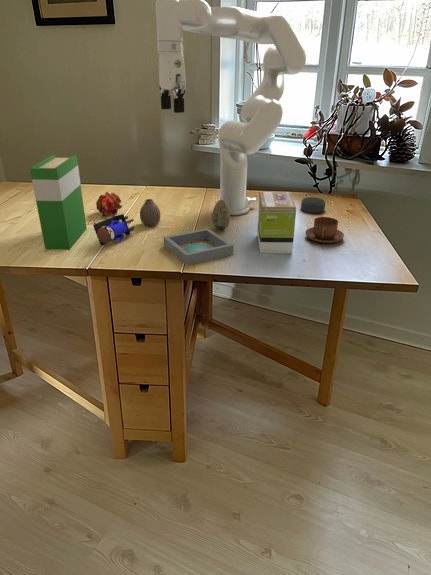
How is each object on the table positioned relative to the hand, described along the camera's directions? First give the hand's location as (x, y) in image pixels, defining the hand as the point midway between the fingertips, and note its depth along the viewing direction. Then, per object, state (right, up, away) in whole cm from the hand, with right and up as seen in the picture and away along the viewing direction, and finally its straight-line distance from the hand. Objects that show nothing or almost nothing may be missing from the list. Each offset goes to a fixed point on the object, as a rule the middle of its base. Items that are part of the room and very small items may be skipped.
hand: (172, 110), depth 137 cm
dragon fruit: (-25, -29, +22) cm, 44 cm away
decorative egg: (+15, -36, +11) cm, 40 cm away
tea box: (+32, -42, 0) cm, 52 cm away
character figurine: (-18, -41, +1) cm, 44 cm away
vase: (-9, -34, +14) cm, 38 cm away
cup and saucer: (+48, -40, +4) cm, 63 cm away
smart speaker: (+50, -26, +30) cm, 64 cm away
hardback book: (-34, -40, +2) cm, 52 cm away
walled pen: (+8, -44, -5) cm, 45 cm away
